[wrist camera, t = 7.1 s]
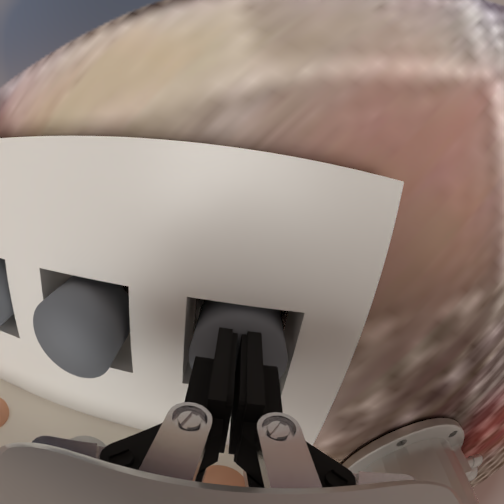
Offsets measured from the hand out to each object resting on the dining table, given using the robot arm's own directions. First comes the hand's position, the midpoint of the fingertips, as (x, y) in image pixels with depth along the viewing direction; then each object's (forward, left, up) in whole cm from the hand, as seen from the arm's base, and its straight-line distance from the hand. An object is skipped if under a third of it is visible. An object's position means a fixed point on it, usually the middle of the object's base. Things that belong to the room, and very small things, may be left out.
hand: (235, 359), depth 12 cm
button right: (0, 0, -3) cm, 3 cm away
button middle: (+7, 0, -2) cm, 7 cm away
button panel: (+7, 0, -4) cm, 8 cm away
